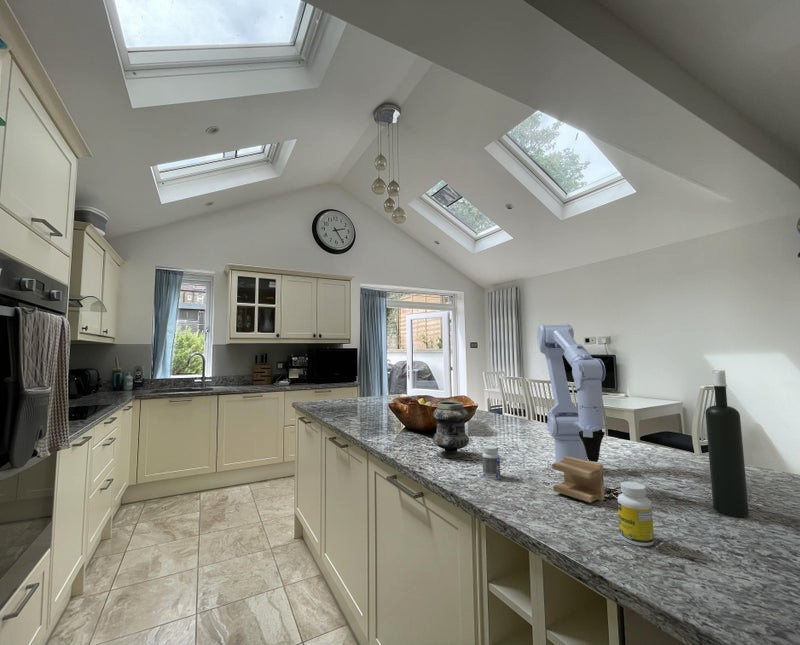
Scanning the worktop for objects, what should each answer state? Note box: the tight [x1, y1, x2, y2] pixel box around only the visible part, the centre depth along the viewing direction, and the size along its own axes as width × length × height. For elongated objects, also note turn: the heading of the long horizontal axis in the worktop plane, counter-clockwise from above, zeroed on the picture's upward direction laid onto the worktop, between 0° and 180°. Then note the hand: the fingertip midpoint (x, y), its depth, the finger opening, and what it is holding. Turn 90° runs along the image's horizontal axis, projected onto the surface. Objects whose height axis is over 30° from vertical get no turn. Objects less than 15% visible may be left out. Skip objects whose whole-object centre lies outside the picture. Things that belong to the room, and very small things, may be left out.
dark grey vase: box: [432, 400, 470, 461], centre depth 125 cm, size 12×12×18 cm
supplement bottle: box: [617, 481, 655, 547], centre depth 69 cm, size 5×5×10 cm
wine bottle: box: [704, 369, 750, 517], centre depth 81 cm, size 6×6×30 cm
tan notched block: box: [551, 456, 605, 503], centre depth 89 cm, size 8×9×6 cm
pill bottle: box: [481, 444, 501, 481], centre depth 104 cm, size 5×5×8 cm
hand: (593, 460), depth 94 cm, fingers closed
